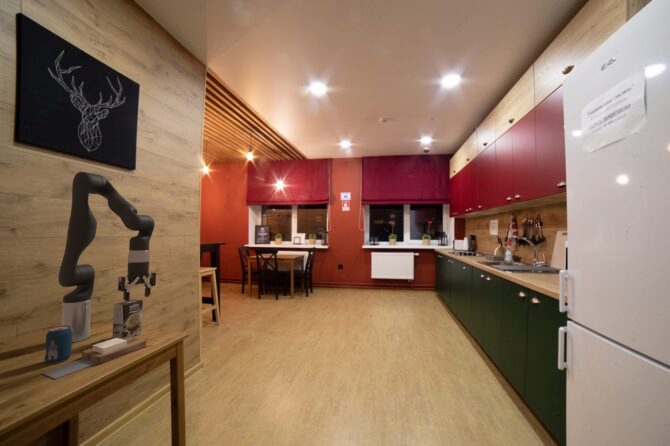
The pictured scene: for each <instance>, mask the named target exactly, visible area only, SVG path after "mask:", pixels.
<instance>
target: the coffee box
mask: <svg viewBox="0 0 670 446" xmlns="http://www.w3.org/2000/svg"><path fill="white" fill-rule="evenodd" d="M143 303H144V299H130V300H129V301H125V300H124V301H121V302H117V303H114V304H113V305H114V307H113V319H112V320H113V321H112V338H111V339H114V338H119V339H121V338H124V337H127V336H129V337H132V338H135V337H136V336H135V335H137V334H140V333H141V334H142V327H143V326H142V325H143V324H142V323H143V309H144V308H143V306H144V305H143ZM141 334H140V335H141ZM134 336H135V337H134ZM137 336H138V335H137Z"/></svg>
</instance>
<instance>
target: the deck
mask: <svg viewBox="0 0 670 446" xmlns="http://www.w3.org/2000/svg"><path fill="white" fill-rule="evenodd" d="M121 339H123V340H126V341H127V346H124V347H122V348H119V349H116V350H113V351H110V352H107V353H104V354H102V353H99V352H96V351H93V347H91V348H87V349H84V350H82V351H81V358H80V359H83V358H86V359H88V360H91V361H94V362H97V363H98V364H97V365H103V364H106V363H108V362H111V361H113V360H116V359H118V358H121V357H123V356H126V355H129V354H132V353H134V352H137V351H139V350H142V349H144V347H145V348H146V347H147V340H144V339H143V340H142V339H139V338H136V337H129V336H127V337H124V338H121Z"/></svg>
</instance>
